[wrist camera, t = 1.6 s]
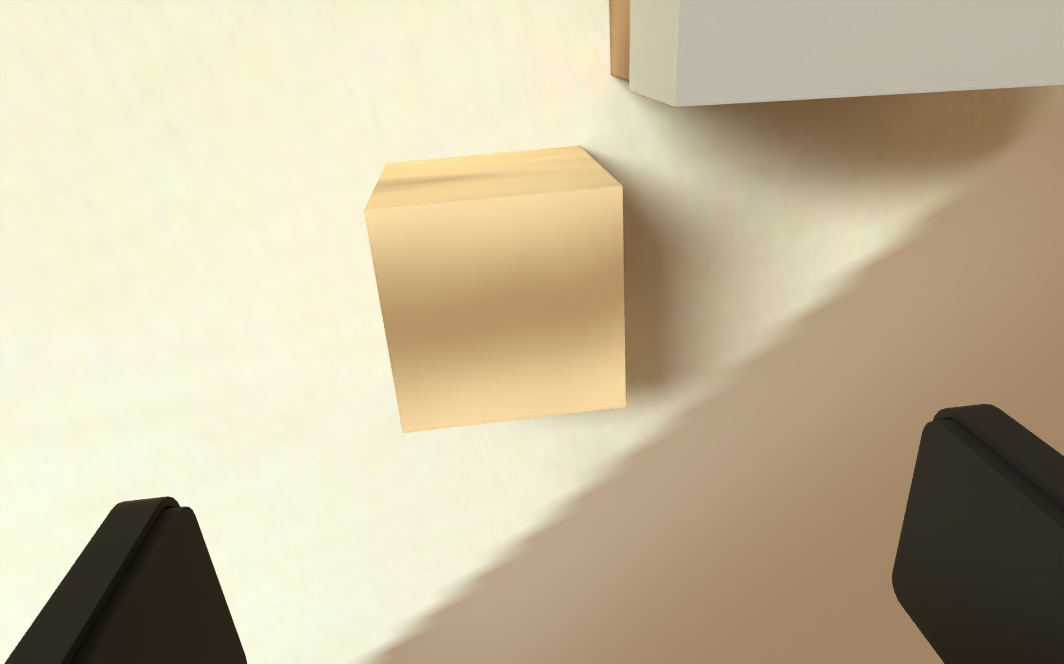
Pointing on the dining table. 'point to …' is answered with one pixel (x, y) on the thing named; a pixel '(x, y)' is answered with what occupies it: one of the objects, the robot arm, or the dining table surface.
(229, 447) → the dining table surface
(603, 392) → the block
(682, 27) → the tower top
